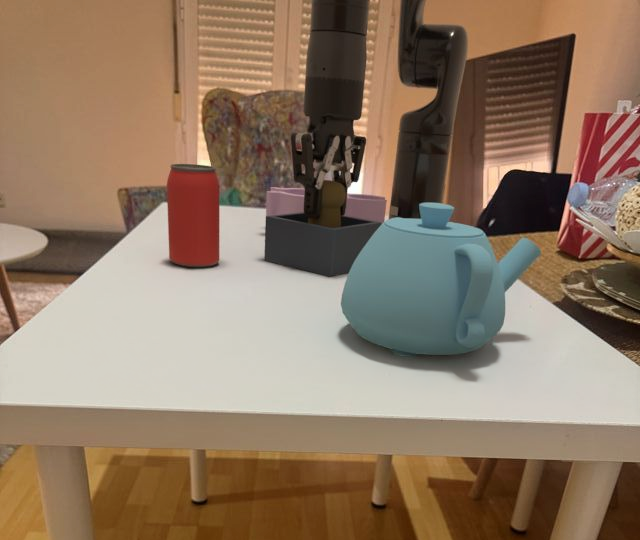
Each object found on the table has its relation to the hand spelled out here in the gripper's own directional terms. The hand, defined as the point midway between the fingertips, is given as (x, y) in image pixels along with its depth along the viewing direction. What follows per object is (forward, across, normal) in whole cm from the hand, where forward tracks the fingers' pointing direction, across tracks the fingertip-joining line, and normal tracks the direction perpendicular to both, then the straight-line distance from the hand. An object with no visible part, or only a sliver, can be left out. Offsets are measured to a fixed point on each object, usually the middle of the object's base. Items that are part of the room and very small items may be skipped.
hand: (325, 215), depth 86 cm
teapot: (+7, -18, -28) cm, 34 cm away
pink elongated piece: (+7, +18, +13) cm, 23 cm away
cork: (+7, 0, 0) cm, 7 cm away
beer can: (+7, -15, +10) cm, 19 cm away
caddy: (+6, 0, 0) cm, 6 cm away
